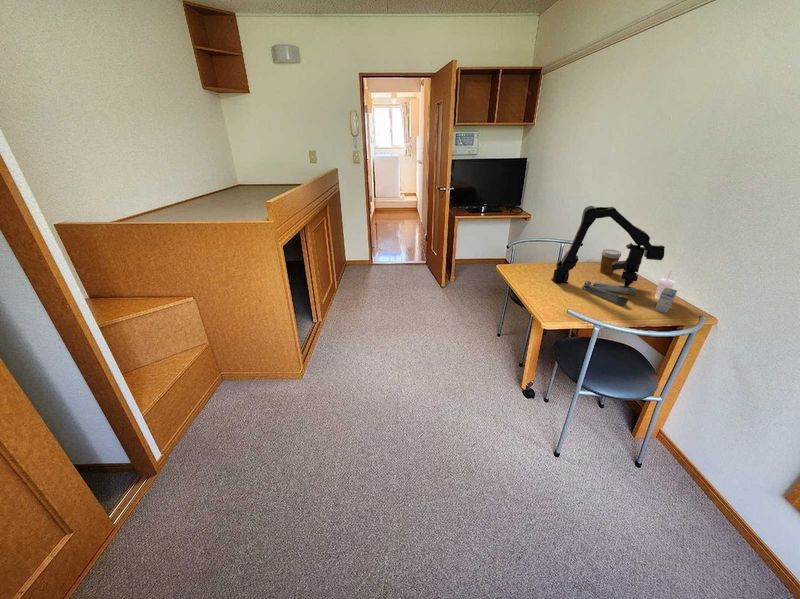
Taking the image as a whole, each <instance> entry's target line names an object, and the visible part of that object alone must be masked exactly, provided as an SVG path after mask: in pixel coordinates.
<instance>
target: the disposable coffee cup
mask: <svg viewBox="0 0 800 599" xmlns="http://www.w3.org/2000/svg"><path fill="white" fill-rule="evenodd" d="M600 254H601V258H600V260H601V261H600V268H599V272H600V273H601V274H604V275H612V274H614V271H615V270H612V262H616V261H620V258H621V257H622V252H621V251H619V250H616V249H607V248H606V249H603V250H602V251H601V253H600Z"/></svg>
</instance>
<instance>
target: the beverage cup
mask: <svg viewBox="0 0 800 599" xmlns="http://www.w3.org/2000/svg"><path fill="white" fill-rule="evenodd" d="M668 273H669V274H668V275H667V278H665V277H664V278H662V277H661V278H659V279H658V285H657V287H656V292H655V296H654V298H655V299H656V300H659V298H660V295H661V293H662V292H663V290H664V289H665V288H670V289H673V287H674V285H675V284H676V281H675V280H673V279H670V276H671V273H672V270H670V271H669V272H668Z"/></svg>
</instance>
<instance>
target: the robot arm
mask: <svg viewBox="0 0 800 599" xmlns="http://www.w3.org/2000/svg"><path fill="white" fill-rule="evenodd" d="M603 218H610V219H611V220H613V221H614V222H615V223H617V224H618V226H620V227H621V228H622V229H623V230H624V231H626V233H627V234H628V235H629V236H630V238H631V240H633V242H634V243H635V244H633V243H632V242H630V243H629V244H627V245H625V248H626V249H628V250H629V252H628V255H627V258H625V260H618V261H616V262H612V270H614V271H617V270H618V271H619V270H623V271H622V274H621V278H620V279H621V280H624V285H623V286H627V287H630V285H631V284H633V282H637V280H638V279H639V278H638V277H639V274H638V273H639V270H640V266H641V264H642V260H643V258H645V259H646V260H652V261H663V259H664V257H665V248H666V247H665V246H664V245H663V244H662V245H657V244H655V245H653V244H651V243H650V241H651V240H650V239H651V237H650V236H649V234H648V233H647V232H646V231H644V230H643V229H641V228H639V227H638V226H636V225H634V224H632V223H631V222H630V221H629V219H627V218H626V217H625V216H623V214H621V213H620V212H619V211H618V210H617V209H616V207H614V206H607V207H606V206H596V207H595V206H593V205H589V206H586V207H585V208H584V209H583V211H582V215H581V221H580V225H579V227H578V229H577V231H576V233H575V236H574V238H573V240H572V243H571V245H570V247H569V249H568V251H567V252H566V253H565V254H564V256H563V257H562V259H561V260H560V261H559V262H557V263H556V264H555V265H556V269H554V271H553V276H552V277H551V280H552V282H554V283H555V284H557V285H558V284H559V285H561V284H563V285H564V284H569V282H568V281H569V278H570V271H571V270H573V269H574V268H576V266H577V265H576V264H577V263H578V261H579V256H578V252H579V250H580V247H581V245H582V244H583V241H584V239H585V238H586V235H587V232H588V231H589V228H590V227H591V226H592V225H593V223H595V221H596V219H603Z"/></svg>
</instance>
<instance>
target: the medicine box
mask: <svg viewBox="0 0 800 599" xmlns="http://www.w3.org/2000/svg"><path fill="white" fill-rule="evenodd" d="M677 292H678V290H677V289H673V288H672V289H670V288H665V289H664V290H663V292H662V293H661V295H660V298H659V300H658V299H657V300H658V301H657V303H656V306H655V309H654V311H656V312H657V311H658V312H661V313H664V314H668V312H669V309H670V308H671V307H672V304H673V302H674V299H675V297H676V295H677Z"/></svg>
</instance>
